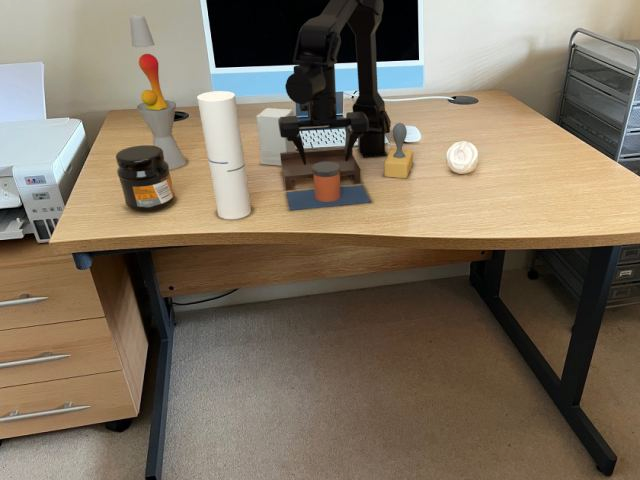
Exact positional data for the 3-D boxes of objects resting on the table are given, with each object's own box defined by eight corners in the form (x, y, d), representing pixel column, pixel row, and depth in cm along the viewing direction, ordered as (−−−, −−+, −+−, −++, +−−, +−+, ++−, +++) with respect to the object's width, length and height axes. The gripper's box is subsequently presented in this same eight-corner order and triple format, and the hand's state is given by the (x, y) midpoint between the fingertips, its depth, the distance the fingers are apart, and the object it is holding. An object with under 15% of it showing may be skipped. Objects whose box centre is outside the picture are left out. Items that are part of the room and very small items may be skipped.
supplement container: (176, 211, 126) (164, 159, 120) (125, 217, 124) (110, 164, 117) (176, 191, 135) (165, 142, 128) (128, 197, 132) (115, 146, 126)
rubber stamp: (406, 178, 142) (408, 130, 135) (383, 176, 143) (384, 129, 136) (412, 163, 150) (414, 117, 143) (390, 161, 151) (391, 116, 144)
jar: (338, 189, 135) (337, 160, 131) (343, 200, 130) (342, 170, 126) (312, 192, 134) (310, 162, 130) (316, 203, 129) (314, 173, 125)
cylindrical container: (220, 205, 129) (200, 91, 115) (252, 204, 130) (237, 90, 116) (215, 219, 123) (194, 101, 109) (249, 218, 124) (232, 100, 110)
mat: (362, 186, 138) (362, 185, 138) (370, 202, 130) (370, 201, 130) (286, 193, 134) (286, 191, 134) (290, 210, 127) (290, 208, 127)
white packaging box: (288, 166, 148) (283, 117, 141) (260, 164, 149) (254, 115, 142) (297, 156, 154) (293, 108, 147) (271, 154, 155) (265, 107, 148)
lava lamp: (172, 154, 154) (142, 11, 135) (194, 162, 150) (166, 15, 130) (143, 165, 148) (107, 16, 129) (165, 173, 144) (131, 20, 124)
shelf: (352, 166, 148) (351, 147, 145) (360, 183, 139) (360, 163, 136) (281, 172, 145) (279, 152, 142) (285, 190, 136) (283, 169, 133)
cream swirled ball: (441, 175, 143) (443, 145, 139) (450, 164, 149) (452, 135, 145) (473, 180, 141) (476, 150, 137) (480, 169, 147) (483, 139, 142)
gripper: (358, 78, 127) (359, 146, 136) (273, 83, 124) (280, 152, 132) (369, 92, 118) (369, 164, 127) (277, 97, 115) (284, 171, 123)
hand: (325, 162), depth 128 cm, fingers open, 9 cm apart
